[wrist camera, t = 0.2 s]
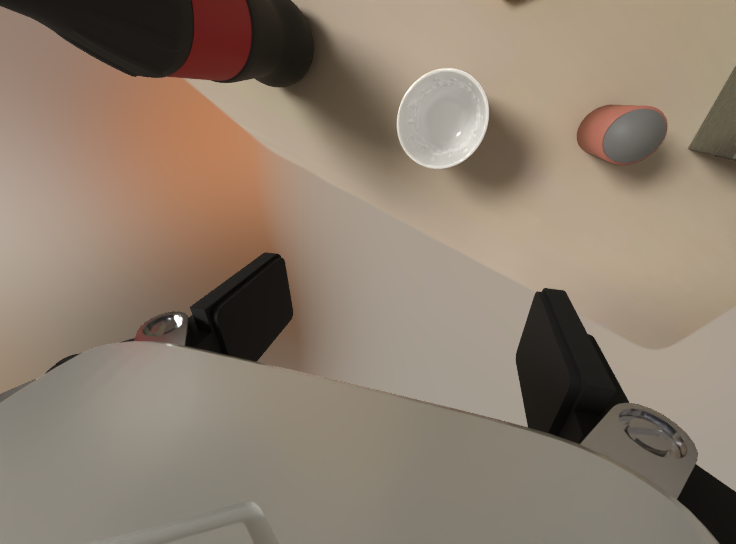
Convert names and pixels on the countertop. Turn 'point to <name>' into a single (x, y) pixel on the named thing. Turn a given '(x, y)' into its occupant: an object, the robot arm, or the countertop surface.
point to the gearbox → (720, 124)
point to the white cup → (442, 118)
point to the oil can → (622, 132)
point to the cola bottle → (184, 36)
